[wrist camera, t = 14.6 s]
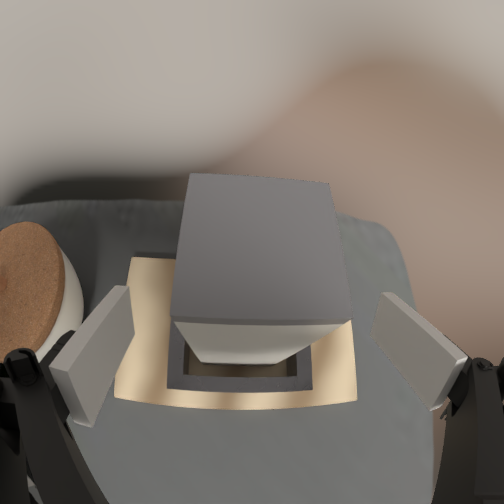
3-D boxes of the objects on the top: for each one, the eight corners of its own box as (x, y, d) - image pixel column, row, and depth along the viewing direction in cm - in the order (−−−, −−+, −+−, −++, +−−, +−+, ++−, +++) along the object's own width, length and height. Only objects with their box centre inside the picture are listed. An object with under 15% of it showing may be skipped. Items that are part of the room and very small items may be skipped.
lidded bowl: (3, 340, 20) (-60, 307, 10) (44, 251, 26) (-2, 195, 17) (76, 399, 19) (4, 391, 10) (121, 290, 26) (76, 230, 16)
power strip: (202, 364, 22) (169, 315, 8) (205, 296, 25) (191, 166, 11) (271, 366, 23) (353, 318, 9) (270, 298, 26) (327, 177, 12)
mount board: (118, 397, 20) (114, 397, 19) (134, 262, 27) (131, 256, 26) (351, 400, 22) (357, 400, 21) (339, 271, 29) (343, 266, 28)
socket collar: (174, 389, 21) (166, 388, 18) (182, 274, 26) (177, 256, 23) (300, 390, 22) (312, 390, 19) (294, 278, 27) (304, 262, 24)
